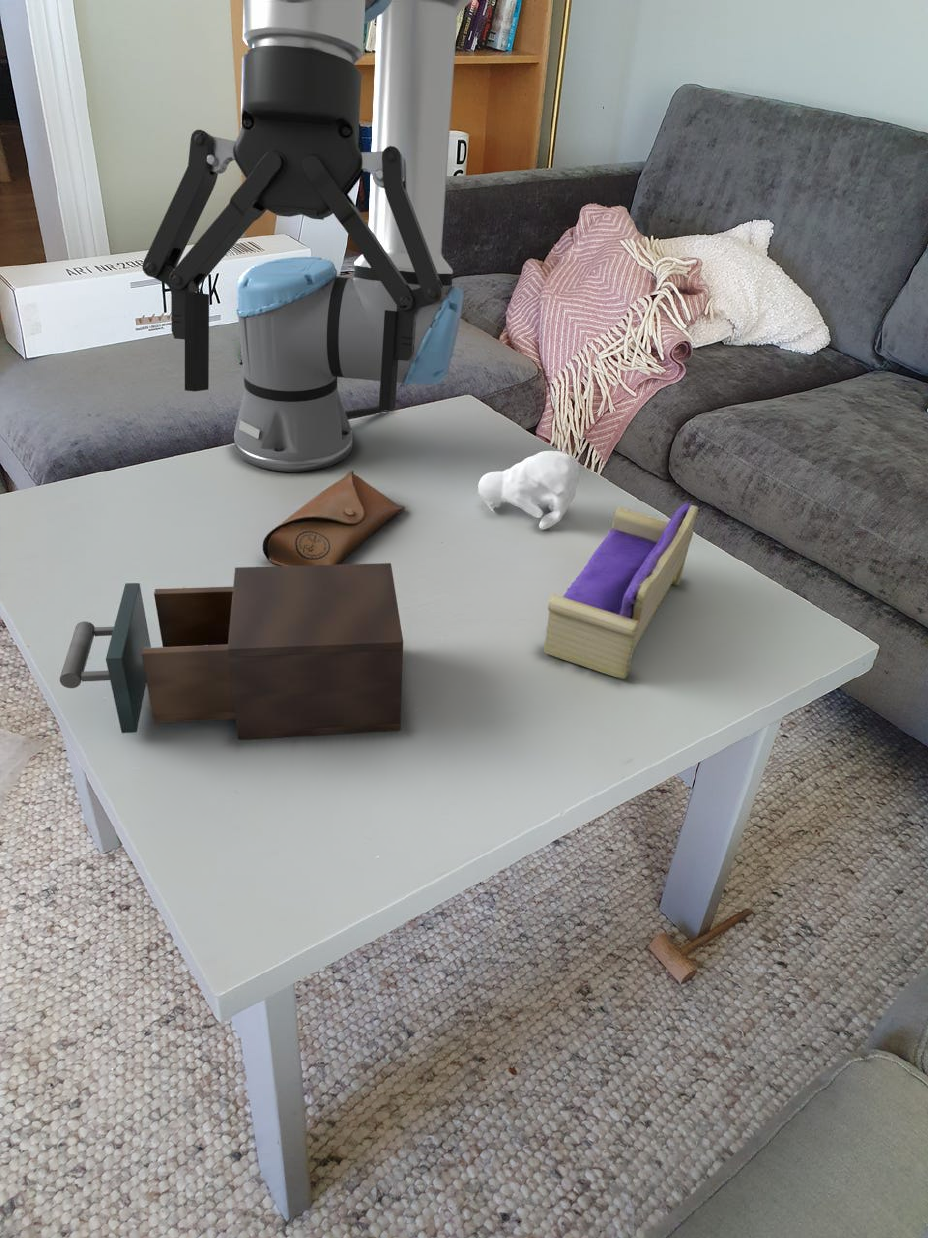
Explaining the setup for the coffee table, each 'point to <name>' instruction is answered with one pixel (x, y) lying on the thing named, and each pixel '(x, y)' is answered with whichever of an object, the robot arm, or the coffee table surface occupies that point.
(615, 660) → the toy sofa
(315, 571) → the cabinet
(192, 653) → the drawer
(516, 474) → the white figurine
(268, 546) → the sunglasses case
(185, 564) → the coffee table surface
